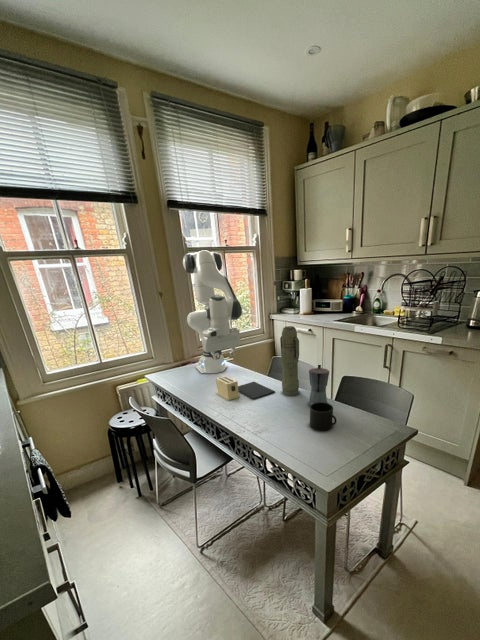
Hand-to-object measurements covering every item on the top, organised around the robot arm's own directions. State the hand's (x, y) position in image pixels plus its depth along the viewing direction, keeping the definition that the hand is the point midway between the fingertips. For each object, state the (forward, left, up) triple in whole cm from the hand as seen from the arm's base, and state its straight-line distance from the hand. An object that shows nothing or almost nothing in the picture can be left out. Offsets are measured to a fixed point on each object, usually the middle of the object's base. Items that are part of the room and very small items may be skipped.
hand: (223, 357), depth 161 cm
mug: (+58, +13, -22) cm, 63 cm away
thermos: (+20, +27, -22) cm, 40 cm away
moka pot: (+41, +27, -22) cm, 54 cm away
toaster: (0, 0, -21) cm, 21 cm away
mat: (+4, +14, -21) cm, 26 cm away
